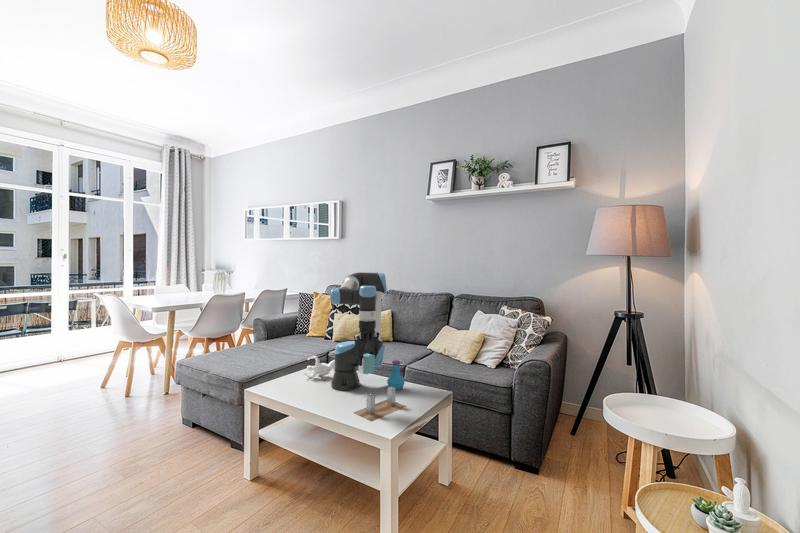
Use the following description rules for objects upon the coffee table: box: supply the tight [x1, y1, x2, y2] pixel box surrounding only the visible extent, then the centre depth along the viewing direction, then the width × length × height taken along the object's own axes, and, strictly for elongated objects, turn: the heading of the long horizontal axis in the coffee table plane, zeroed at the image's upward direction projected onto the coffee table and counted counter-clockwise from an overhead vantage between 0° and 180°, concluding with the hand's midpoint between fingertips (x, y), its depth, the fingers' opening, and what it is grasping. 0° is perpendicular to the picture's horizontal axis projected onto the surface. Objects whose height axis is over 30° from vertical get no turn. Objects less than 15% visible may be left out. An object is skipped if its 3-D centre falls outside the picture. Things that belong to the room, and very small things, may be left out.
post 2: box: [386, 386, 397, 407], centre depth 168 cm, size 3×3×8 cm
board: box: [353, 399, 407, 422], centre depth 163 cm, size 12×22×1 cm, turn 138°
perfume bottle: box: [386, 359, 406, 391], centre depth 191 cm, size 9×9×15 cm
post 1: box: [366, 393, 376, 415], centre depth 159 cm, size 3×3×8 cm
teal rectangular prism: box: [357, 353, 376, 375], centre depth 164 cm, size 5×5×8 cm
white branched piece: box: [303, 355, 335, 379], centre depth 210 cm, size 13×13×18 cm
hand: (366, 371), depth 164 cm, fingers closed on teal rectangular prism, 5 cm apart
